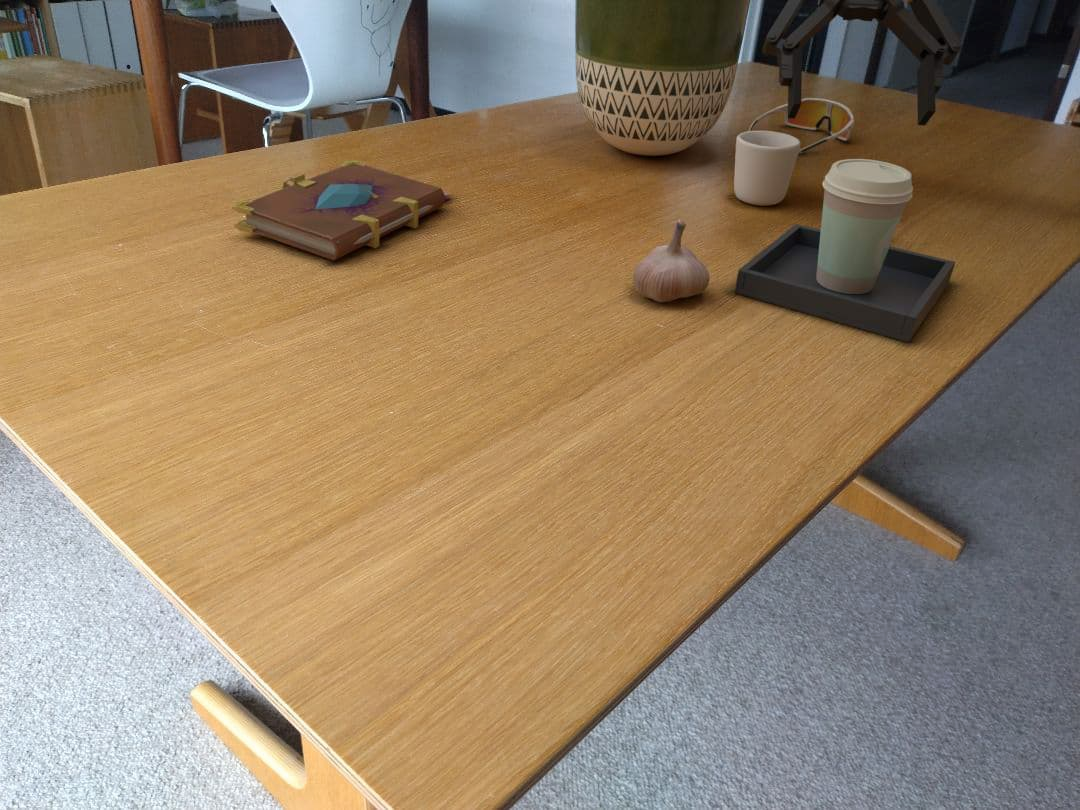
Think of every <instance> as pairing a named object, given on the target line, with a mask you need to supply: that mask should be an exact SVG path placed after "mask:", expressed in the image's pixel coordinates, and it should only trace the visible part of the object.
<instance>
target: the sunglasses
mask: <svg viewBox="0 0 1080 810" xmlns="http://www.w3.org/2000/svg"><path fill="white" fill-rule="evenodd" d="M782 112H784V124H785V125H786V126H790V127H793V128H798V129H804V130H811V131H816V130H818V129H819V128H820V127H821V126H822V124H824V122H825V121H826V120H827V131H828V132H829V134H830V136H826V137H824V138H822V139H820V140H818V141H815V142H814V143H812V144H811V143H810V144H809V145H807V146H805V147H803V148H800V149H799V153H798V155H799V154H803V153H805V152H808V151H810V150H812V149H814V148H817V147H818V146H821V145H823V144H825V143H828V142H831V141H832V142H833V140H835V139H839V140H840V141H841V140H842V141H843V142H847V141H849V138H850V137H851V135H852V131H853V128H854V125H855V118H854V117H855V116H854V115H853V113H852V111H851V110H850V108H849V107H847V106H846V105H844V104H842V103H840V102H839V101H836V100H835V101H834V100H830V99H826V98H817V97H805V98H803V99H801V106H800V108H799V110H798V113H797V115H796V117H795V119H794V118H788V103H786V104H782V105H779V106H776V107H775V108H773V109H770V110H768V111H767V112H765V113H763V114H761V115H760V116H758V117H756V118H755V119H754V120H753V122H752V123H751V124H750V126H749V128H748V131H753V129H754V126H756V124H757V123H759V122H761V121H762V120H763V119H765V118H766V117H768V116H770V115H773V114H780V113H782Z"/></svg>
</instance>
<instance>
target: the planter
mask: <svg viewBox="0 0 1080 810" xmlns="http://www.w3.org/2000/svg"><path fill="white" fill-rule="evenodd" d="M751 2H752V1H751V0H575V1H574V3H575V7H574V8H575V9H574V21H575V22H574V23H575V24H574V37H575V38H574V45H575V46H574V48H575V49H574V51H575V53H574V55H575V56H574V58H575V59H574V60H575V64H574V65H575V82H576V87H577V93H578V98H579V102H580V105H581V108H582V111H583V113H584V115H585V117H586V119H587V121H588V122H589V124H590V125H591V127H592V128H593V129H594V130H595V132H596V133H597V134H598V135H599V136H600V137H601V138H602V139H604V141H606V142H607V143H608V144H609V145H611V146H612V147H614V148H616V149H617V150H619V151H620V150H621V151H622V152H625V153H628V154H632V155H638V156H645V157H660V156H668V155H673V154H677V153H680V152H682V151H684V150H686V149H688V148H690V147H691V146H693V145H694V144H696V143H698V141H700V140H701V139H702V138H703V137H705V136H706V135H707V134H708V133H709V132H710V131H711V130H712V128H713V127H714V126H715V125H716V124H717V122H718V121H719V120H720V118H721V116H722V114H723V112H724V110H725V109H726V106H727V103H728V101H729V99H730V97H731V96H730V95H731V93H732V91H733V87H734V83H735V79H736V74H737V70H738V65H739V60H740V56H741V50H742V45H743V40H744V36H745V31H746V25H747V20H748V14H749V10H750V5H751Z"/></svg>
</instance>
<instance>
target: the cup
mask: <svg viewBox="0 0 1080 810" xmlns="http://www.w3.org/2000/svg"><path fill="white" fill-rule="evenodd" d="M801 144H802V143H801V141H800V139H799V138H797V137H795V136H793V135H791V134H788V133H783V132H779V131H773V130H772V131H771V130H751V131H749V130H748V131H743V132H741V133H739V134H738V135H737V136H736V140H735V158H734V159H735V160H734V177H733V178H734V179H733V190H734V195H735V197H736V198H737V199H738V200H740V201H741V202H744V203H745V204H746V203H747V204H748V205H749V204H750V205H753V206H761V207H762V206H766V207H767V206H774V205H777V204H780V203H781V202H782V201H783V200H784V199H785V197H786V195H787V193H788V189H789V186H790V183H791V180H792V176H793V172H794V170H795V166H796V163H797V159H798V157H799V150H801Z"/></svg>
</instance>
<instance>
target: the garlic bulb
mask: <svg viewBox="0 0 1080 810" xmlns="http://www.w3.org/2000/svg"><path fill="white" fill-rule="evenodd" d="M686 226H687V223H686V222H685V221H683V220H682V219H678V220H677V222H676V223H675V228H674V232H673V234H672V236H671V239H670V241H669V243H668V244H661V245H659V246H656V247H655V248H653V249H652V250H651V251H650V252H649V253H648V254H647V255H646V256H645V257H644V258H642V259H640V261H638V263H637V264H636V266H635V268H634V270H633V274H632V283H633V286H634V289H635V291H636V292H638V294H639V295H640V296H642V297H644V298H647V299H652V300H653V301H655V302H658V303H665V302H666V303H667V302H668V303H669V302H673V301H674V300H678V299H680V298H682V299H685V298H689V297H692V296H698V295H700V294H702V293H703V292H704V291H705V290H706V289H707V288H708V286H709V283H710V273H709V270H708V268H707V267H706V265H705V264H704V263H703V262H701V261H700V260H699V259H698V258H697V256H696V255H695V253H694V252H693V251H692V250H691V249H690V248H687V247H684V246H683V245H682V237H683V234H684V231H685V229H686Z"/></svg>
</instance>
